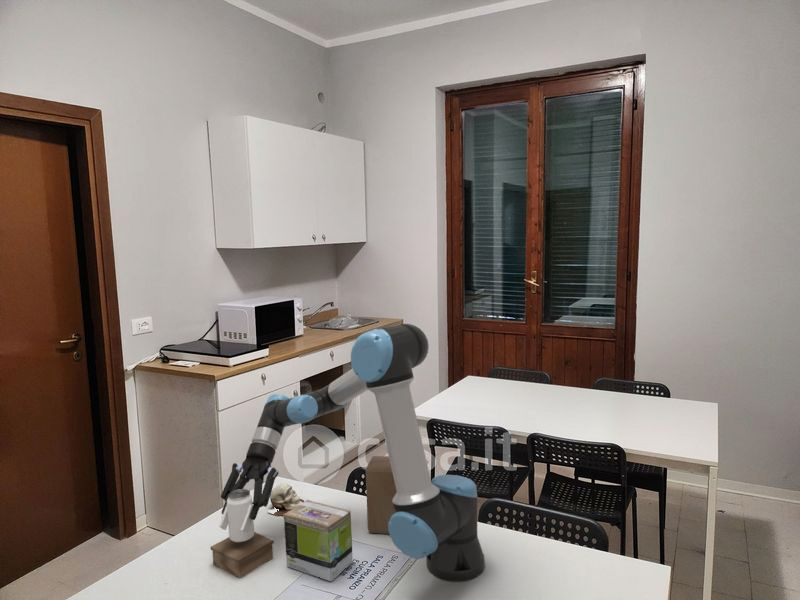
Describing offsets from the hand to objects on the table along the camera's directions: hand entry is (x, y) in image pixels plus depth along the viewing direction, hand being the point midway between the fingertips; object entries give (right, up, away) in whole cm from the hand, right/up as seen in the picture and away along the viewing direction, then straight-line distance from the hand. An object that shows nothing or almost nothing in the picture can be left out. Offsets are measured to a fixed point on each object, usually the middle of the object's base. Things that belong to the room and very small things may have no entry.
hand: (233, 529), depth 148 cm
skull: (+7, -7, +35) cm, 36 cm away
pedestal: (+1, -10, +5) cm, 11 cm away
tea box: (+22, -10, +2) cm, 25 cm away
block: (+40, -8, +21) cm, 46 cm away
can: (+1, -4, +4) cm, 6 cm away
